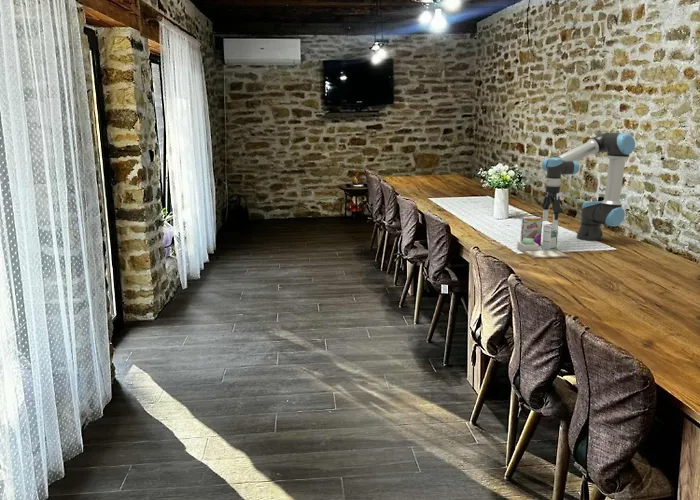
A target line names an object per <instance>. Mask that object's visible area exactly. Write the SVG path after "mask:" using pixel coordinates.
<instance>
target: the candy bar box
mask: <svg viewBox="0 0 700 500" xmlns="http://www.w3.org/2000/svg"><path fill="white" fill-rule="evenodd" d="M520 227H521V230H520V241H519V242H523V238H533V239H534V242H535V243H536V244H538V245H539V246H541V243H542V242H541V241H542V233H543V232H542V231H543V217H541V216H522V217H521V226H520Z"/></svg>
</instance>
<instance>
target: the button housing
mask: <svg viewBox="0 0 700 500" xmlns="http://www.w3.org/2000/svg"><path fill="white" fill-rule="evenodd" d="M516 245H517V246H516V249H517V250H519V251H521V253H523V251H540V250H539V246H540V245H538V244H536V243H535V242H534V245H524V244H523V242H520V241H517V244H516Z"/></svg>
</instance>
